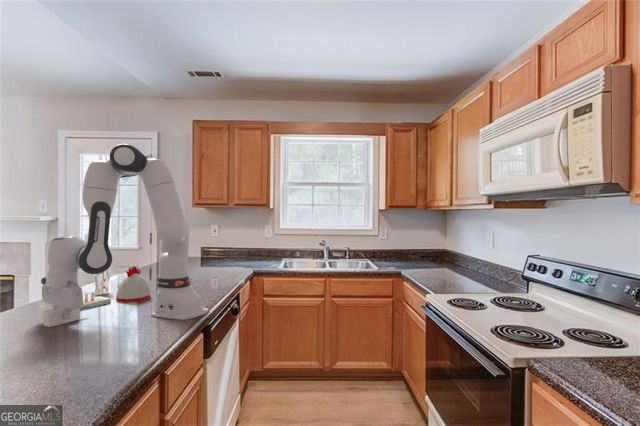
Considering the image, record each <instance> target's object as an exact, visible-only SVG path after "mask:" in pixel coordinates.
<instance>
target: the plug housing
mask: <svg viewBox="0 0 640 426" xmlns="http://www.w3.org/2000/svg"><path fill="white" fill-rule="evenodd" d="M89 307H90V306H89V305H88V306H83V307H81V308H79V309H74V310H72V311H71V314H70V319H66V320H65V319H63V314H64V312H65V310H64V308H63V307H60V308H56V309H53V308H51V309H48V310H43V312H42V326H43V327H47V328H51V327H55V326H59V325H62V324H67V323H71V322H74V321H79V320H80V319H81V311H83V310H86V308H87V309H90V308H89ZM82 309H83V310H82Z"/></svg>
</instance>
